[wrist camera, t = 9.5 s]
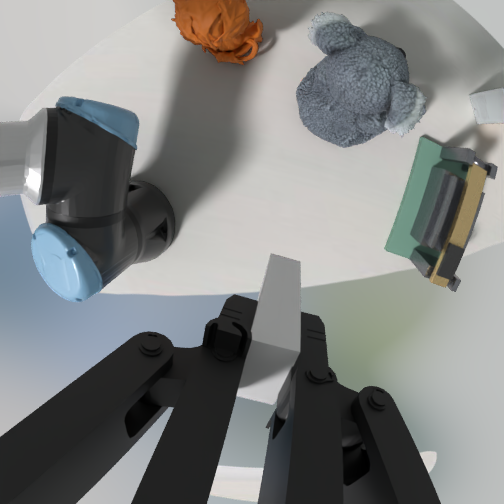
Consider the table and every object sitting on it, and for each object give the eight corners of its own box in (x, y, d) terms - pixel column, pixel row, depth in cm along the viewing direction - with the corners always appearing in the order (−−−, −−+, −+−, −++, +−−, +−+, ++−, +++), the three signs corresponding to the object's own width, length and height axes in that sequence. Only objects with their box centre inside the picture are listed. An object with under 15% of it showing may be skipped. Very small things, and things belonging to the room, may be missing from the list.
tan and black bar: (470, 154, 28) (476, 154, 26) (485, 164, 28) (491, 165, 26) (427, 279, 35) (432, 284, 34) (443, 284, 35) (448, 289, 33)
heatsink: (434, 144, 36) (466, 145, 26) (468, 163, 35) (502, 169, 26) (398, 253, 43) (419, 279, 34) (433, 265, 43) (457, 292, 33)
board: (420, 137, 36) (422, 137, 35) (479, 169, 35) (483, 170, 34) (384, 248, 44) (386, 250, 43) (444, 269, 43) (447, 272, 42)
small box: (475, 124, 32) (510, 123, 23) (468, 94, 31) (501, 87, 21) (503, 122, 30) (537, 123, 21) (496, 94, 29) (529, 89, 19)
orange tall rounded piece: (268, 13, 33) (247, -46, 16) (269, 68, 37) (248, 22, 20) (202, 21, 34) (155, -26, 18) (201, 73, 38) (147, 40, 22)
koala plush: (421, 115, 35) (488, 102, 17) (339, 173, 41) (368, 192, 23) (354, 32, 32) (381, -29, 14) (269, 88, 38) (245, 46, 20)
